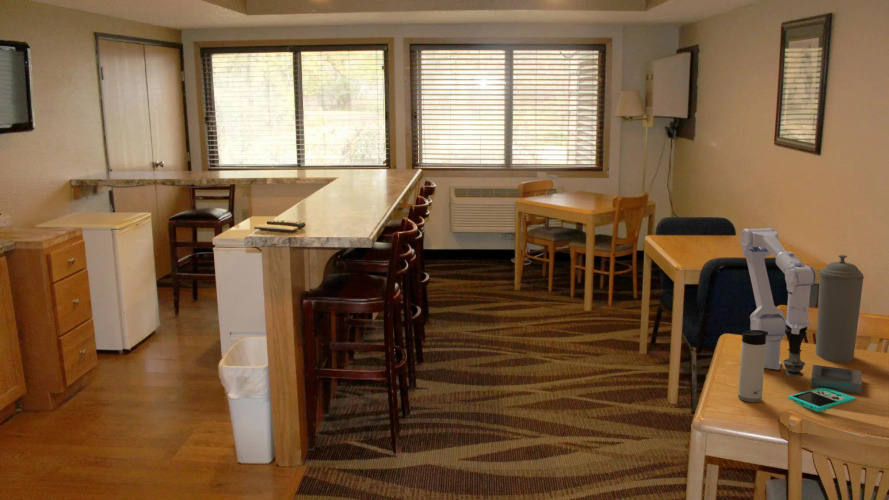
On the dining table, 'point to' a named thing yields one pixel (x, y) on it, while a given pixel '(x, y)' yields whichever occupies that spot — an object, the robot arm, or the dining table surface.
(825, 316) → the canister
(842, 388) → the square socket
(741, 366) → the travel mug
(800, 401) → the handheld game console
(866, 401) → the dining table surface
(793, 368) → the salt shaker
